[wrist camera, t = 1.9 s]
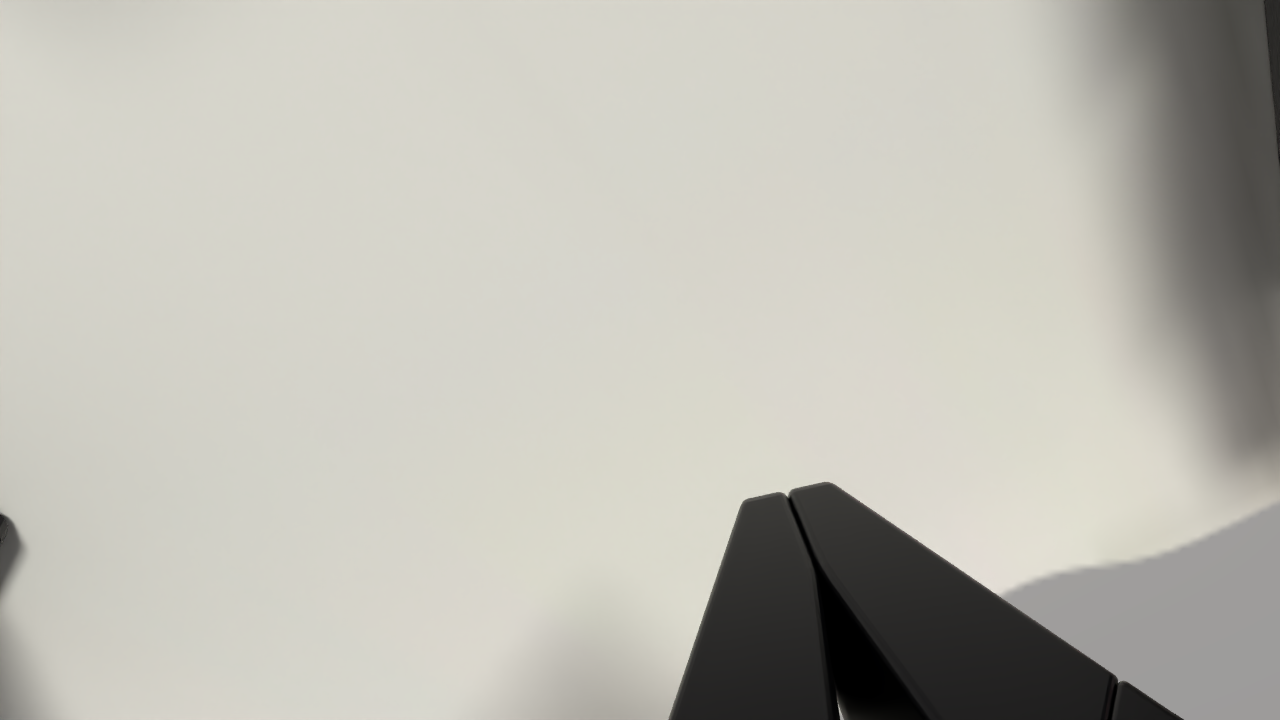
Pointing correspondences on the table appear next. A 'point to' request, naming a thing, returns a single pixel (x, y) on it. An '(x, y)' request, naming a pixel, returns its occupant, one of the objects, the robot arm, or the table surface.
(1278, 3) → the grey cartridge tray
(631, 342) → the table surface
